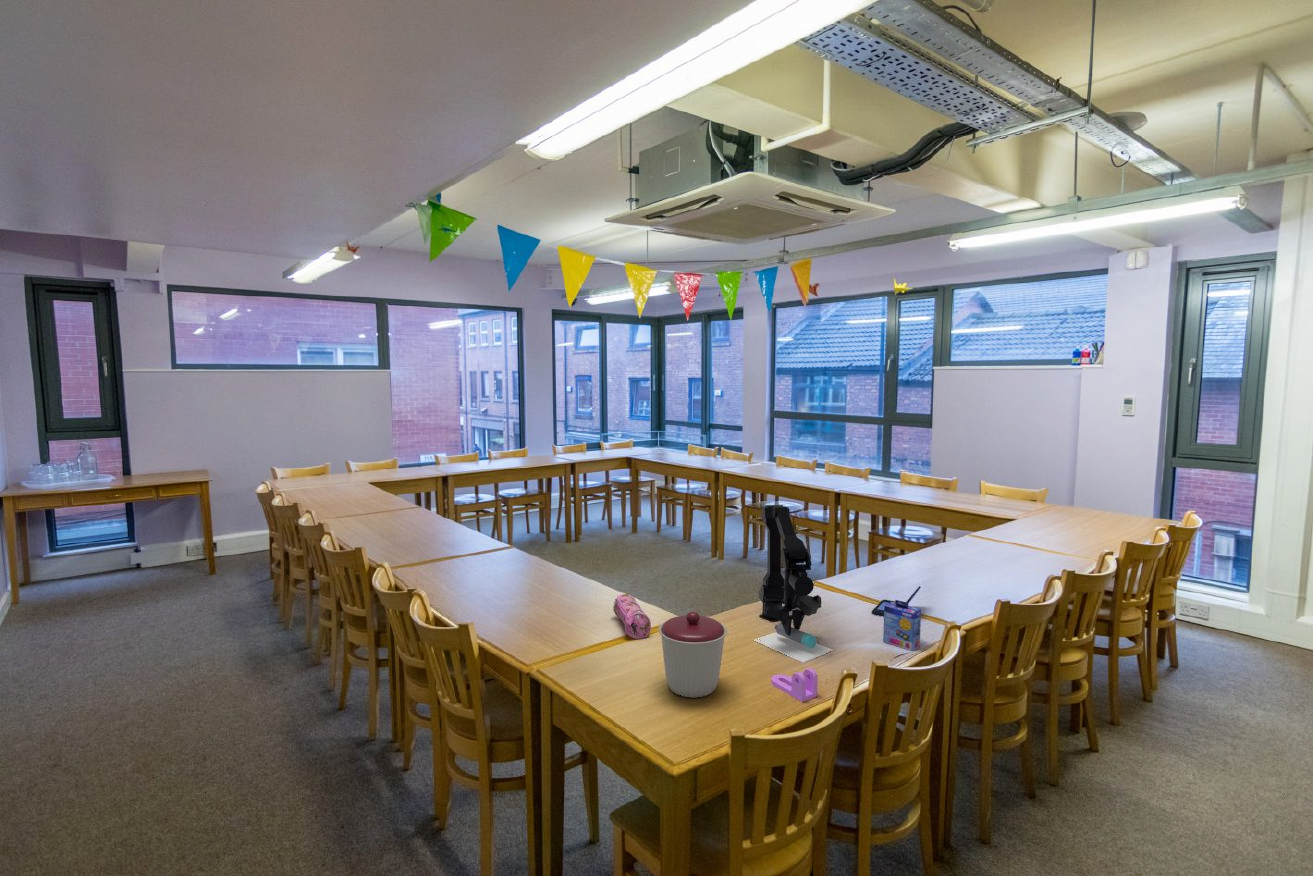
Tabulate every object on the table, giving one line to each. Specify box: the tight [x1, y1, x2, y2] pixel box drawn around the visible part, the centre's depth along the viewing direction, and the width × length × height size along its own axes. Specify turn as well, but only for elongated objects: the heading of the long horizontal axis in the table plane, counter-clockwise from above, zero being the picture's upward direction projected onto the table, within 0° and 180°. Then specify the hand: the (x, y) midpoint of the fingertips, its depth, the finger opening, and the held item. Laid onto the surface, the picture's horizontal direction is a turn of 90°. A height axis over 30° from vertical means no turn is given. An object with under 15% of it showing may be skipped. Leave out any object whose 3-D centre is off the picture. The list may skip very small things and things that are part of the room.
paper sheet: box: [753, 632, 834, 664], centre depth 198 cm, size 20×14×1 cm
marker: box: [774, 622, 818, 648], centre depth 197 cm, size 15×4×4 cm, turn 38°
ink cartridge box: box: [882, 599, 922, 652], centre depth 199 cm, size 10×6×14 cm, turn 44°
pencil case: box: [612, 593, 652, 640], centre depth 211 cm, size 21×9×9 cm, turn 17°
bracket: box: [770, 668, 819, 703], centre depth 170 cm, size 13×6×7 cm, turn 33°
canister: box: [658, 611, 728, 698], centre depth 169 cm, size 18×18×21 cm
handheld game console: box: [871, 585, 922, 618], centre depth 227 cm, size 16×13×9 cm
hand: (792, 633), depth 198 cm, fingers closed on marker, 4 cm apart
